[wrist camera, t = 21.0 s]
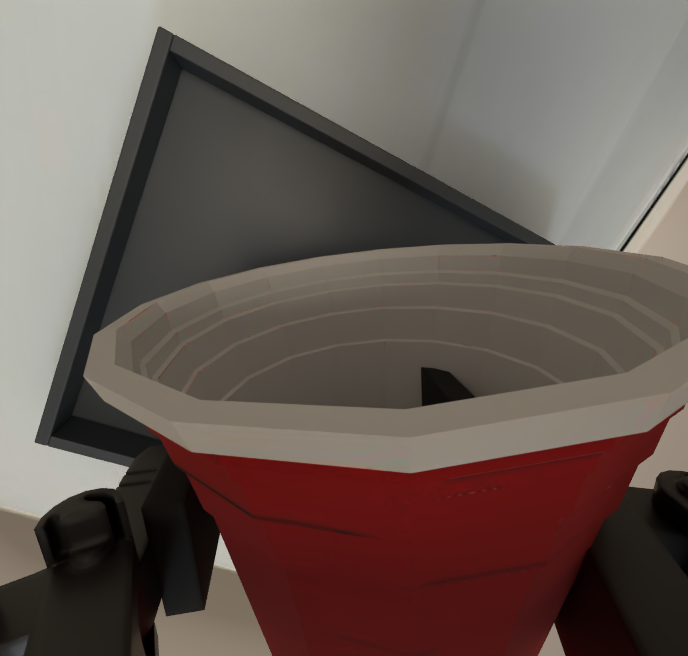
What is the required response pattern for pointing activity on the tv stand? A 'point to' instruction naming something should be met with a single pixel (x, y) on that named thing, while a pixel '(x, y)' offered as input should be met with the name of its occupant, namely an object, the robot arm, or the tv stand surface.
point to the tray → (233, 214)
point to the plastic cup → (409, 431)
